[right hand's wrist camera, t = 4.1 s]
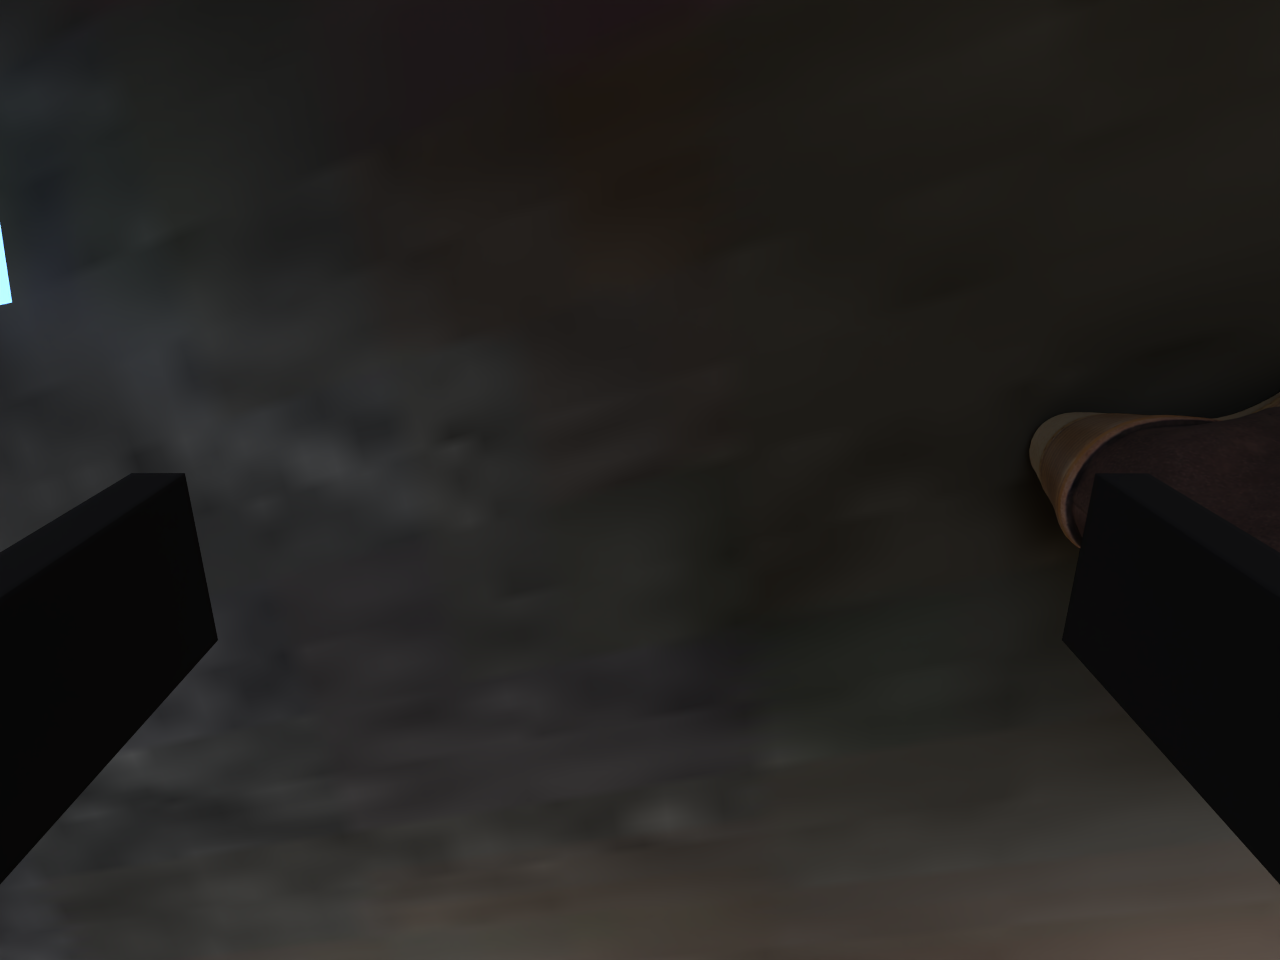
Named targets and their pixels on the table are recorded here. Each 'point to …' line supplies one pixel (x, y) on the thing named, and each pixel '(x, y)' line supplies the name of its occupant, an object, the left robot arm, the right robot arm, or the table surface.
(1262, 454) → the boot
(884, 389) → the table surface
